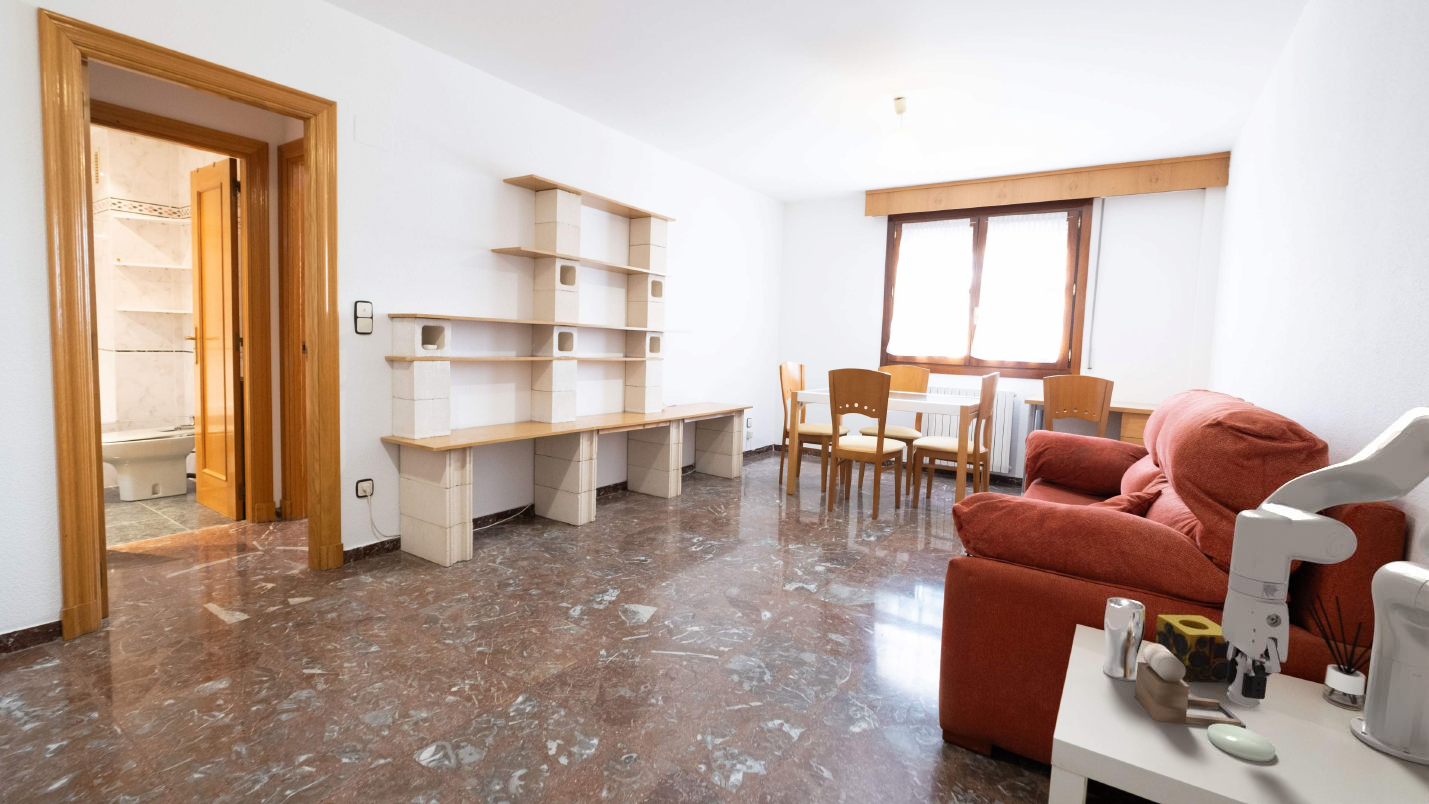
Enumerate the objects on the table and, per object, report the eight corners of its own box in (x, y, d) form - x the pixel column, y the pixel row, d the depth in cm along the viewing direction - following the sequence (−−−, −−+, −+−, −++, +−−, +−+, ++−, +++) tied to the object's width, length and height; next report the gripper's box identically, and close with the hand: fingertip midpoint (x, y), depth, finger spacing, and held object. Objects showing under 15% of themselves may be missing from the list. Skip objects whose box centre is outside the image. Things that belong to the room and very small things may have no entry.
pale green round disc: (1252, 732, 116) (1253, 726, 116) (1288, 764, 107) (1288, 759, 107) (1196, 726, 117) (1196, 720, 117) (1226, 757, 109) (1227, 752, 108)
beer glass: (1146, 684, 131) (1152, 612, 130) (1107, 680, 133) (1113, 608, 131) (1131, 667, 138) (1137, 598, 137) (1095, 663, 140) (1100, 595, 138)
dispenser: (1220, 705, 124) (1226, 647, 123) (1246, 730, 116) (1253, 668, 115) (1134, 696, 127) (1139, 639, 126) (1155, 720, 119) (1160, 660, 118)
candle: (1235, 683, 133) (1240, 636, 132) (1185, 682, 133) (1189, 635, 132) (1199, 659, 143) (1203, 614, 142) (1152, 657, 143) (1156, 613, 142)
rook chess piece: (1262, 711, 108) (1267, 665, 108) (1228, 702, 111) (1233, 657, 110) (1257, 699, 112) (1263, 654, 111) (1224, 691, 114) (1229, 647, 114)
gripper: (1319, 608, 101) (1304, 721, 102) (1251, 570, 117) (1239, 669, 119) (1264, 603, 102) (1250, 715, 104) (1204, 566, 118) (1193, 664, 120)
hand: (1244, 689), depth 111 cm, fingers closed on rook chess piece, 3 cm apart
